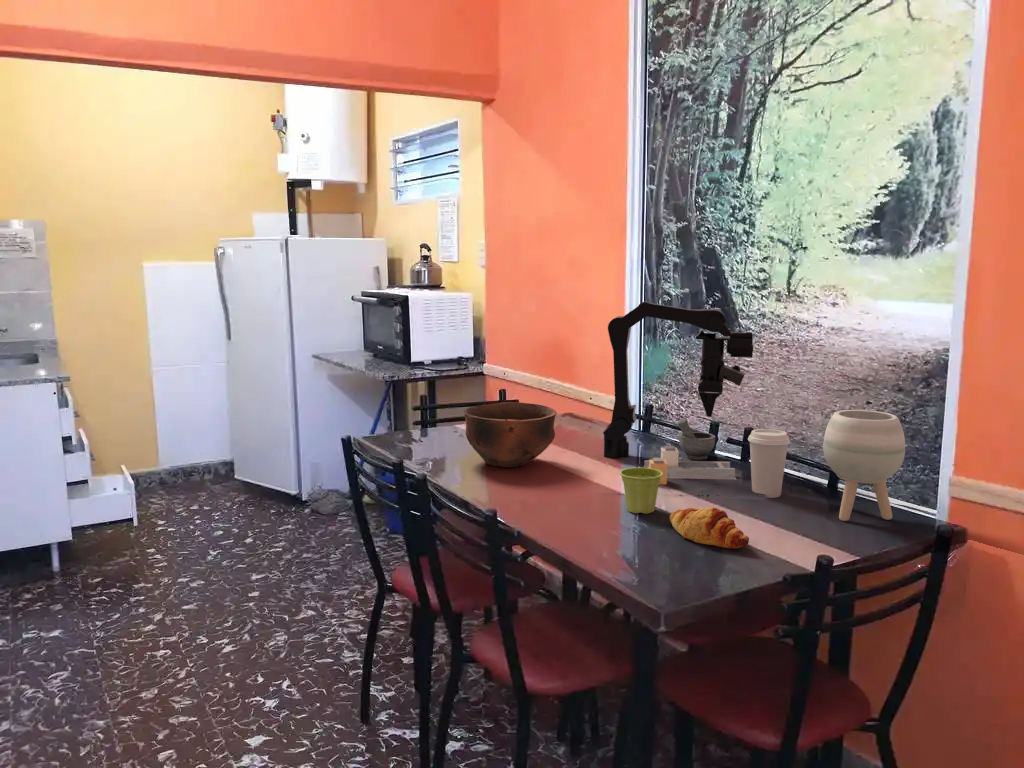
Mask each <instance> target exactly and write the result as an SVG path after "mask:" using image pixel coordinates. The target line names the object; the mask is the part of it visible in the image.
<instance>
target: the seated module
mask: <svg viewBox="0 0 1024 768" xmlns="http://www.w3.org/2000/svg"><path fill="white" fill-rule="evenodd" d="M679 454H680V453H679V450H678V448H677V447H675V446H674V445H663V447H660V458H663V460H666V462H667V467H678V461H679Z"/></svg>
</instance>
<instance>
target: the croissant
mask: <svg viewBox="0 0 1024 768" xmlns="http://www.w3.org/2000/svg"><path fill="white" fill-rule="evenodd" d="M669 521H670V523H671V525H672V527H673V529H674V530H675V531H676V532H677V533H678V534H680V536H682V538H683V539H687V540H689V541H690V540H691V541H692V542H695V543H698V544H701V545H707V546H714V547H719V548H725V549H732V550H736V549H740V548H742V547H746V546H748V545H749V543H750V536H748V535H745V534H744V531H742V530H741V529H740V528H738V527H737V526H736V525H737V524H736V523H735V520H734V519H732V518H729V515H728V513H727V512H726V511H725V510H723V509H722V508H718V507H715V506H714V507H710V506H709V507H704V508H703V507H702V508H696V507H695V508H694V507H689V508H685V509H677V510H675V511H672V512H671V513H670V515H669Z"/></svg>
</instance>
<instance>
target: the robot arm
mask: <svg viewBox="0 0 1024 768" xmlns="http://www.w3.org/2000/svg"><path fill="white" fill-rule="evenodd" d="M647 317H648V318H653V319H660V320H665V321H666V320H667V321H673V322H680V323H684V324H690V325H692V326H695V327H698V328H700V329H702V330H700V332H699V333H698V334H696V335H695V339H696V340H700V341H701V360H700V376H699V378H700V379H699V380H700V381H698V383H697V385H698V386H697V392H698V394H699V398H700V401H701V403H702V406H703V408H704V410H705V411H704V412H705V414H706V417H707V418H710V417H711V418H712V415H713V411H714V408H715V405H716V400H717V399H718V397H720V396H722V394H723V390H724V389H723V388H724V380H726V381H728V382H731V383H733V384H735V385H736V386H738V387H740V386H741V384H742V382H743V379H744V377H745V376H746V375H745V373H744V371H741V366H739V365H737V364H734V365H733V366H732V367H731V366H727V365H725V360H724V355H725V353H726V354H728V355H730V358H746V359H747V358H748V359H750V358H751V359H752V358H753V355H754V354H753V353H754V345H753V336H754V334H753V332H751V331H746V332H740V331H739V332H733V331H732V330H731V328H729V327H728V325H727V323H726V315H725V314H724V313H723V311H721V310H720V309H717V308H703V309H702V308H701V309H699V308H697V309H689V308H684V307H679V306H678V307H677V306H671V305H664V304H658V303H652V302H650V301H647V300H646V301H642V302H641V303H639V304H638V305H637V306H636V307H634V308H633V309H632V310H630V311H629V312H628V313H626V314H625V315H624V316H623V315H622V316H621V315H620V316H616V317H614V318H612V320H610V321H609V322H608V324H607V332H608V336H609V342H610V345H611V349H612V351H613V353H612V355H613V378H614V380H613V382H614V403H613V409H612V415H611V421H610V423H609V424H608V425H607V426H606V427H605V429H604V430H603V432H602V434H603V457H604V458H610V459H622V458H623V459H624V458H629V455H630V454H629V451H630V442H629V441H628V437H627V435H626V434H627V433H629V432H630V431H631V430H632V427H633V425H634V424H635V423H636V420H637V416H636V406H637V405H636V404H632V403H631V401H630V390H629V389H630V388H629V387H630V386H629V385H630V384H629V383H630V382H629V360H628V353H629V352H628V350H629V349H628V348H629V343H630V337H631V330H632V327H634V326H635V325H636V324H638V323H639V322H641V321H642V320H643V319H644V318H647ZM704 330H705V331H708V332H704ZM716 332H717V333H718V334H720V335H721V336H717V334H716ZM725 341H726V352H725ZM724 352H725V353H724Z"/></svg>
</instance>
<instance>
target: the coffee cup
mask: <svg viewBox="0 0 1024 768" xmlns="http://www.w3.org/2000/svg"><path fill="white" fill-rule="evenodd" d="M747 437H748V438H747V440H748V442H749V452H750V456H749V457H750V474H751V475H750V476H751V491H752V492H754V493H756V495H755V496H756V497H760V498H766V499H767V498H769V499H771V498H772V499H773V498H775V499H776V498H778V497H779V498H780V497H781V495H782V488H783V481H784V473H785V466H786V460H787V459H786V458H787V452H788V446H789V444H790V443H791V441H790V440H791V439H790V437H789V436H788V433H787V432H786V431H784V430H781V429H774V428H755V429H752V430H751V432H750V433H749V435H748V436H747ZM757 494H758V495H757ZM759 494H760V495H759Z"/></svg>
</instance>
